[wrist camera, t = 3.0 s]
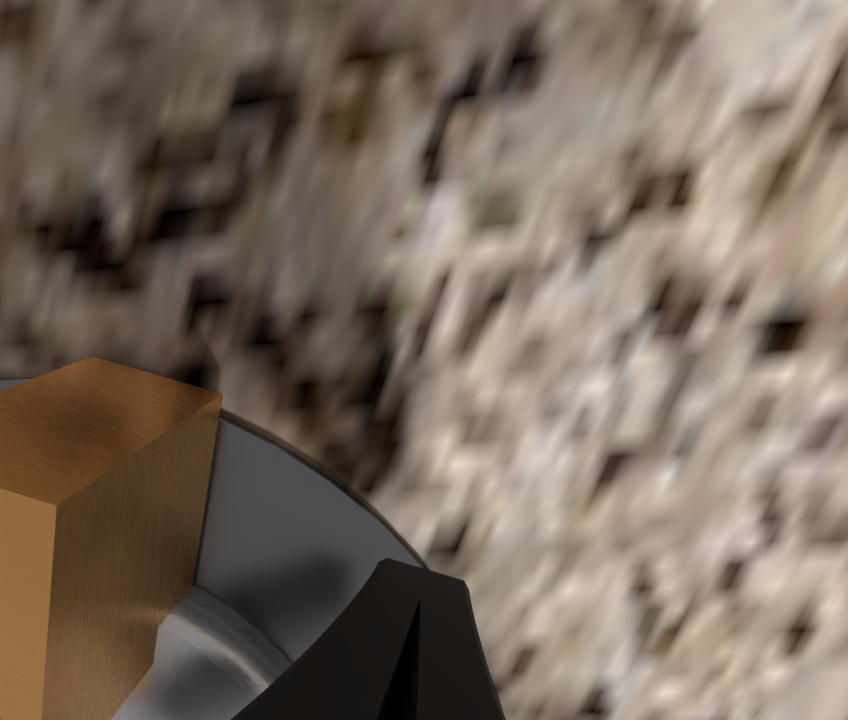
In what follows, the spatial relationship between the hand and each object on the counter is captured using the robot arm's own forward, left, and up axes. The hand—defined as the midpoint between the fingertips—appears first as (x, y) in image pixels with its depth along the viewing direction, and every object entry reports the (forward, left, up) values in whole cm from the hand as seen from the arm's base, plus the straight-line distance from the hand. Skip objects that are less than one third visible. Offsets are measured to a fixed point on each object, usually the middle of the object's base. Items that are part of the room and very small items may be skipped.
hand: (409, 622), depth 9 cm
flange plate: (+5, +6, -2) cm, 8 cm away
